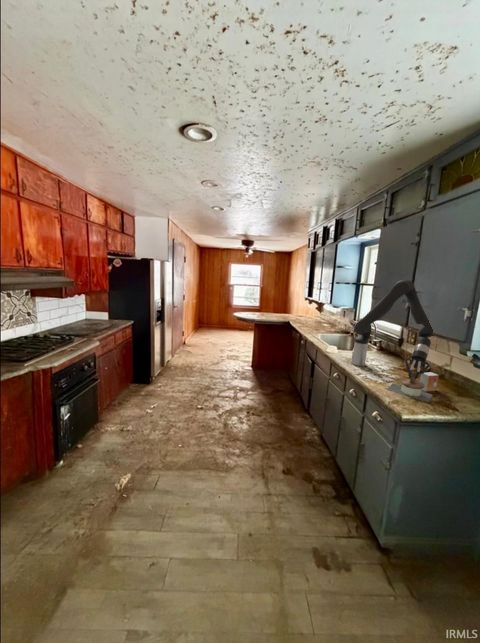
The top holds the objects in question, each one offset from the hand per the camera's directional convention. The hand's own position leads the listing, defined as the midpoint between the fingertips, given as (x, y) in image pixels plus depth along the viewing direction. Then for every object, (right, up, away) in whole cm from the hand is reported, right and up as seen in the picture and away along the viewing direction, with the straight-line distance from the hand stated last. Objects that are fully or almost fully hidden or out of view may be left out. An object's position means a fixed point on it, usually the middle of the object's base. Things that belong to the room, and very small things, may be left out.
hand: (412, 377), depth 169 cm
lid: (+1, -5, +3) cm, 5 cm away
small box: (+15, -10, +11) cm, 21 cm away
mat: (+1, -10, +5) cm, 11 cm away
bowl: (+1, -10, +4) cm, 11 cm away
